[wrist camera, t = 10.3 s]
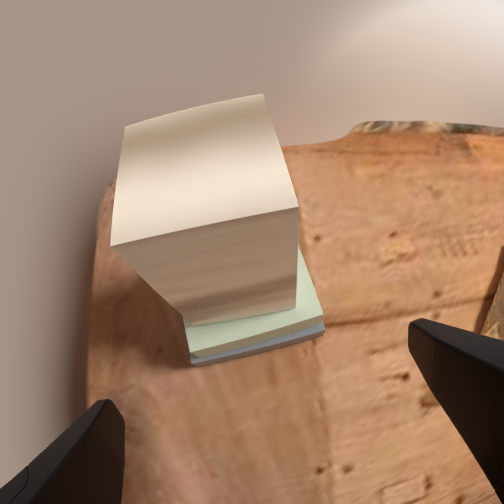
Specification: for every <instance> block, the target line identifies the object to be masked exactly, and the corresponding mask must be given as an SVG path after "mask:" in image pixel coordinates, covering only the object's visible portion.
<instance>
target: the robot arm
mask: <svg viewBox="0 0 504 504" xmlns="http://www.w3.org/2000/svg"><path fill="white" fill-rule="evenodd" d="M408 348H409V351H410V353H411V355H412V357H413V359H414V360H415V362H416V364H417V366H418V368H419V370H420V371H421V373H422V375H423V377H424V379H425V381H426V383H427V385H428V386H429V388H430V390H431V391H432V393H433V395H434V396H435V397H436V399H437V400H438V402H439V403H440V405H441V406H442V408H443V409H444V411H445V412H446V414H447V415H448V417H449V418H450V420H451V421H452V423H453V424H454V426H455V427H456V429H457V430H458V432H459V433H460V435H461V437H462V438H463V440H464V441H465V443H466V444H467V446H468V447H469V449H470V451H471V452H472V454H473V455H474V457H475V459H476V460H477V462H478V463H479V465H480V467H481V468H482V470H483V472H484V473H485V475H486V477H487V478H488V480H489V482H490V483H491V485H492V487H493V488H494V489H495V492H496V494H497V496H498V497H499V499H500V501H501V503H502V504H504V340H500V339H496V338H493V337H489V336H485V335H482V334H478V333H474V332H471V331H467V330H463V329H460V328H456V327H452V326H449V325H445V324H442V323H438V322H435V321H431V320H427V319H424V318H419V319H417V320H414V321H412V322H410V323H409V327H408ZM124 464H125V422H124V419H123V417H122V415H121V414H120V412H119V411H118V409H117V408H116V406H115V405H114V403H113V402H112V401H111V400H110V399H104V400H98V401H97V402H95V403H94V404H93V405H92V406H91V407H90V408H89V409H88V410H87V411H86V412H85V413H84V414H83V415H81V416H80V417H79V418H78V419H77V420H76V421H75V422H74V423H73V424H72V425H71V426H70V427H69V428H68V429H66V430H65V431H64V432H63V433H62V434H61V435H60V436H59V437H58V438H57V439H56V440H54V441H53V442H52V443H51V444H50V445H49V446H48V447H47V448H46V449H45V450H44V451H43V452H42V453H40V454H39V455H38V456H37V457H36V458H35V459H34V460H33V461H32V462H31V463H30V464H29V465H28V466H26V467H25V468H24V469H23V470H22V471H21V472H20V473H18V474H17V475H16V476H15V477H14V478H13V479H12V480H10V481H9V482H8V483H7V484H6V485H4V486H3V487H2V488H0V504H121V500H122V487H123V476H124Z"/></svg>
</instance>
